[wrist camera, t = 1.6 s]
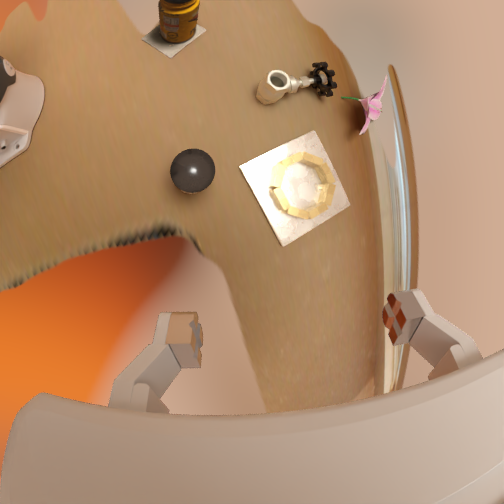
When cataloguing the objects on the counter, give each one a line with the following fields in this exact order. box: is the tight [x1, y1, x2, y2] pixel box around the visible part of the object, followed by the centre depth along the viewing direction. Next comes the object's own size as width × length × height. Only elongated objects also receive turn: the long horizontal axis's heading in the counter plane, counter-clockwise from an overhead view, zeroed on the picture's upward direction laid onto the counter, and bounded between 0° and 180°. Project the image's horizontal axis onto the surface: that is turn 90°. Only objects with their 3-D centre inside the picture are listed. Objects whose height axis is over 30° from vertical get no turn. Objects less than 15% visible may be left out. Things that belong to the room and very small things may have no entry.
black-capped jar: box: [170, 149, 215, 194], centre depth 35 cm, size 5×5×9 cm
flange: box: [239, 130, 350, 247], centre depth 42 cm, size 14×14×3 cm
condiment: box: [142, 0, 206, 58], centre depth 29 cm, size 7×8×12 cm
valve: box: [256, 62, 337, 105], centre depth 37 cm, size 7×7×12 cm
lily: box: [341, 74, 387, 135], centre depth 40 cm, size 12×12×10 cm
